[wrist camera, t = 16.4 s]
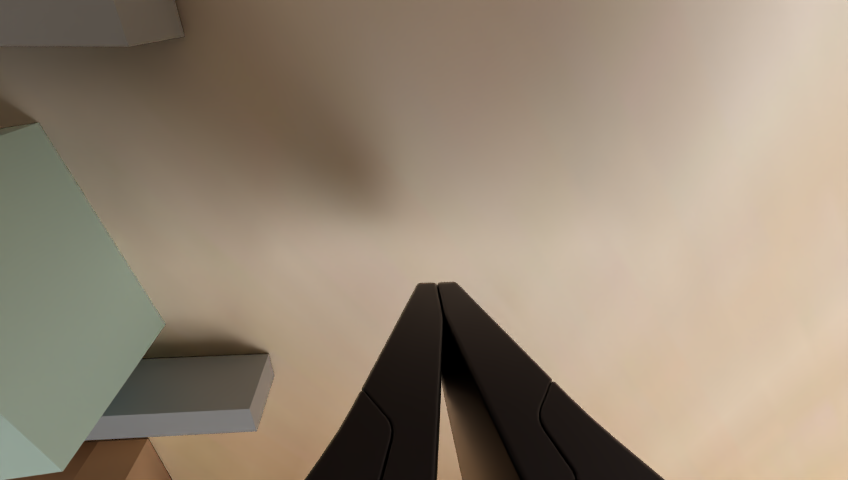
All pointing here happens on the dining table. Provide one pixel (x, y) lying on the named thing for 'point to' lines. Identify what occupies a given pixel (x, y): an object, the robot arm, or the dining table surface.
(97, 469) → the block
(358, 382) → the dining table surface
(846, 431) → the dining table surface
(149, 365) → the grey u-shaped bracket
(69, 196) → the block
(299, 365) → the dining table surface
